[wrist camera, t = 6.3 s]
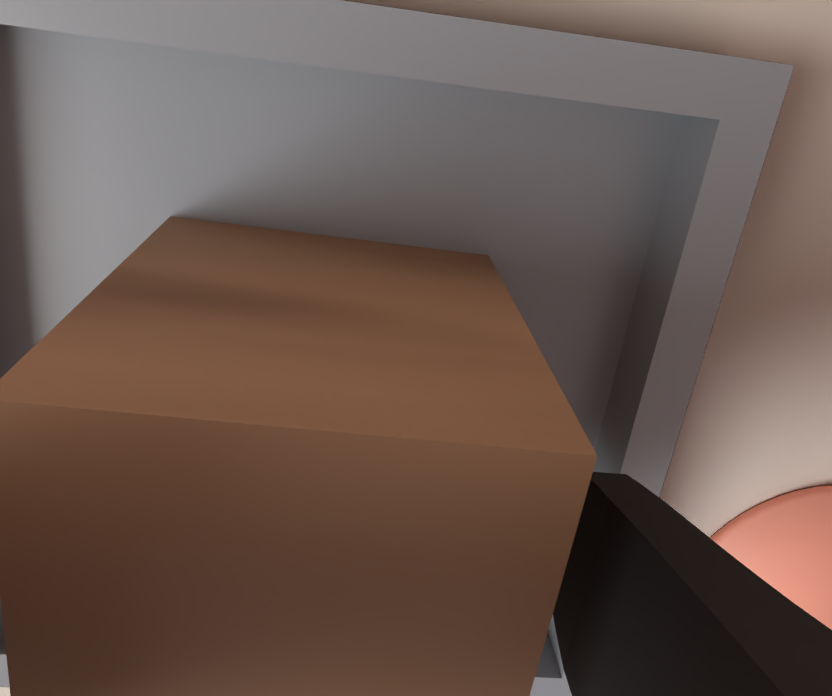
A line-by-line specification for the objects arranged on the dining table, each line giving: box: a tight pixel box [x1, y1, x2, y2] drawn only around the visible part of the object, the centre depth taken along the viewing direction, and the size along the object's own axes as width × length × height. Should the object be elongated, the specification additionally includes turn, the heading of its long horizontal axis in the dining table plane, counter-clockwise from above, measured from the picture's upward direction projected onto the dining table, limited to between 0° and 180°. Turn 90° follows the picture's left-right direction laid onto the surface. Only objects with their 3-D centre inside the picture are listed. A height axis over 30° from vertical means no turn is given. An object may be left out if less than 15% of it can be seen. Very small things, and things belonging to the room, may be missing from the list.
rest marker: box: [710, 485, 832, 630], centre depth 16 cm, size 6×6×1 cm
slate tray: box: [0, 0, 794, 696], centre depth 12 cm, size 12×12×2 cm
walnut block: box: [0, 216, 597, 696], centre depth 10 cm, size 5×5×6 cm
